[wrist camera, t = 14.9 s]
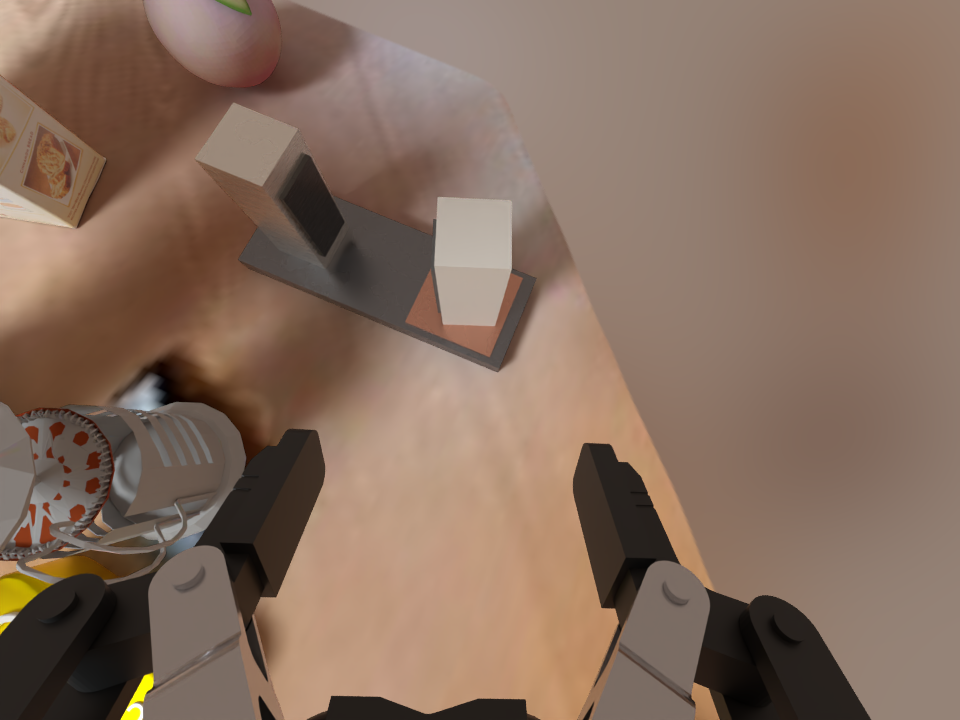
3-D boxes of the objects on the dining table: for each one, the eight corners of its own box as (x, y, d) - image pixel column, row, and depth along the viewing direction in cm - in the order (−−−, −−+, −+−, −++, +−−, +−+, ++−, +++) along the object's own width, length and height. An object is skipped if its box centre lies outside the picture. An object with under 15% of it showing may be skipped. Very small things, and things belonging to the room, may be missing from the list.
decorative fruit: (178, 98, 35) (68, -38, 25) (226, 32, 36) (140, -119, 27) (273, 135, 34) (199, 14, 25) (317, 67, 36) (263, -72, 26)
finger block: (438, 324, 30) (428, 265, 20) (441, 275, 31) (431, 196, 21) (495, 326, 30) (511, 269, 20) (495, 277, 31) (511, 200, 21)
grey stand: (248, 268, 32) (131, 171, 20) (295, 189, 33) (212, 60, 22) (497, 372, 31) (518, 331, 20) (533, 285, 33) (571, 202, 21)
